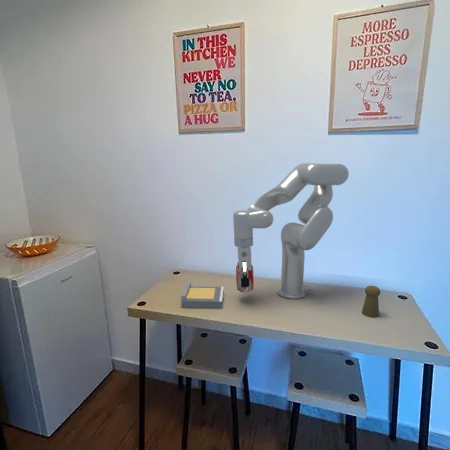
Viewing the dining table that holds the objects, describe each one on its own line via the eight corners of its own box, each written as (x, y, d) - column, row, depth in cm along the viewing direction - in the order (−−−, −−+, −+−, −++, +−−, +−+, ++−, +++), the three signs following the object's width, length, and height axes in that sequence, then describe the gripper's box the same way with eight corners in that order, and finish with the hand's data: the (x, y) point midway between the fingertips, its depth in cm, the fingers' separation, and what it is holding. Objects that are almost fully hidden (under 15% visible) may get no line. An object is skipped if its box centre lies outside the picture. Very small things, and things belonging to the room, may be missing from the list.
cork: (378, 319, 116) (381, 291, 113) (360, 315, 119) (363, 287, 117) (380, 312, 121) (382, 285, 118) (363, 308, 124) (365, 282, 122)
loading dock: (223, 293, 138) (223, 282, 137) (221, 308, 123) (221, 296, 122) (187, 292, 139) (187, 282, 138) (181, 307, 124) (181, 296, 123)
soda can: (254, 293, 127) (253, 265, 124) (237, 294, 127) (235, 265, 124) (253, 286, 133) (252, 259, 131) (236, 287, 134) (235, 260, 131)
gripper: (254, 247, 117) (255, 291, 121) (252, 235, 134) (253, 275, 138) (234, 247, 117) (235, 292, 121) (234, 236, 134) (236, 275, 138)
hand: (244, 282), depth 129 cm, fingers closed on soda can, 7 cm apart
